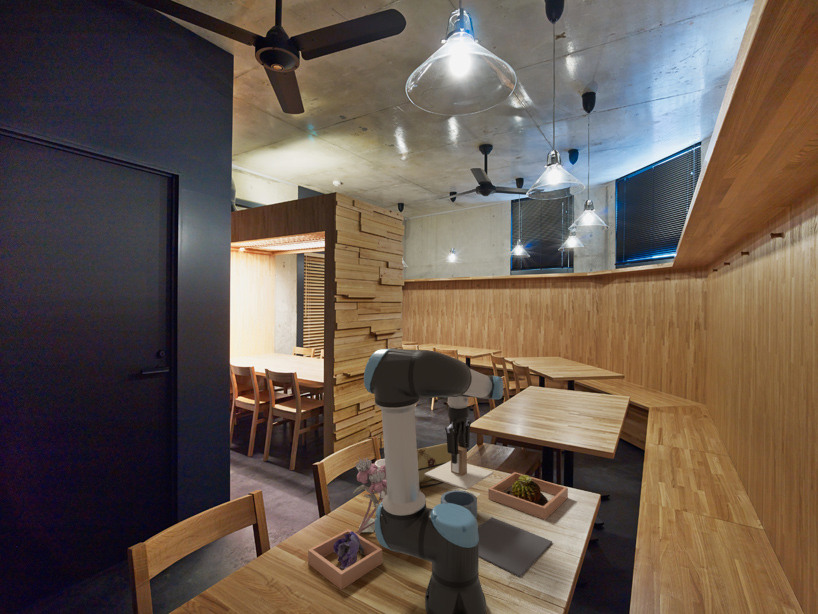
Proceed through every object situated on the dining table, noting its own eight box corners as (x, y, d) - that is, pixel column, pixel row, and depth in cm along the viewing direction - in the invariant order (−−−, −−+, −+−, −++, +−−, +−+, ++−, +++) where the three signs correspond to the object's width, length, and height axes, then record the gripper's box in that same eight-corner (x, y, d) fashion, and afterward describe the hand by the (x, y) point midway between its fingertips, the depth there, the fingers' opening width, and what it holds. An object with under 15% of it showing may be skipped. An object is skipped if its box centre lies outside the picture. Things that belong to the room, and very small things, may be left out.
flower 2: (375, 560, 111) (405, 473, 119) (327, 525, 126) (357, 449, 133) (412, 559, 126) (437, 481, 133) (366, 528, 140) (390, 459, 147)
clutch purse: (406, 493, 157) (406, 456, 158) (398, 486, 163) (398, 451, 164) (463, 477, 172) (463, 444, 172) (454, 472, 178) (454, 440, 178)
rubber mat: (520, 577, 106) (520, 575, 106) (455, 545, 121) (455, 544, 121) (552, 542, 122) (552, 541, 122) (491, 518, 137) (491, 517, 137)
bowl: (463, 529, 130) (463, 511, 131) (434, 515, 139) (433, 499, 139) (483, 514, 140) (483, 497, 140) (455, 502, 149) (454, 487, 149)
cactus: (495, 498, 153) (494, 474, 153) (518, 487, 163) (518, 464, 163) (532, 516, 139) (532, 489, 139) (556, 502, 149) (556, 477, 149)
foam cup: (394, 501, 150) (394, 468, 150) (372, 499, 152) (371, 466, 152) (400, 490, 159) (399, 459, 160) (378, 489, 161) (378, 457, 161)
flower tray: (341, 589, 102) (341, 574, 102) (308, 563, 113) (308, 549, 113) (382, 562, 113) (382, 549, 113) (348, 541, 124) (348, 528, 124)
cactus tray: (544, 519, 136) (544, 508, 136) (488, 498, 152) (488, 488, 152) (567, 497, 152) (567, 487, 153) (514, 481, 168) (514, 472, 168)
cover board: (465, 490, 127) (465, 461, 128) (424, 475, 140) (424, 448, 140) (493, 473, 141) (493, 447, 141) (453, 461, 153) (453, 436, 153)
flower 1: (358, 524, 121) (341, 524, 114) (376, 545, 116) (359, 546, 108) (340, 551, 120) (322, 553, 112) (358, 573, 115) (340, 576, 107)
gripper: (453, 411, 132) (454, 480, 132) (478, 403, 144) (479, 466, 144) (436, 408, 137) (437, 474, 137) (462, 400, 149) (462, 461, 149)
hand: (458, 470), depth 140 cm, fingers closed on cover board, 3 cm apart
